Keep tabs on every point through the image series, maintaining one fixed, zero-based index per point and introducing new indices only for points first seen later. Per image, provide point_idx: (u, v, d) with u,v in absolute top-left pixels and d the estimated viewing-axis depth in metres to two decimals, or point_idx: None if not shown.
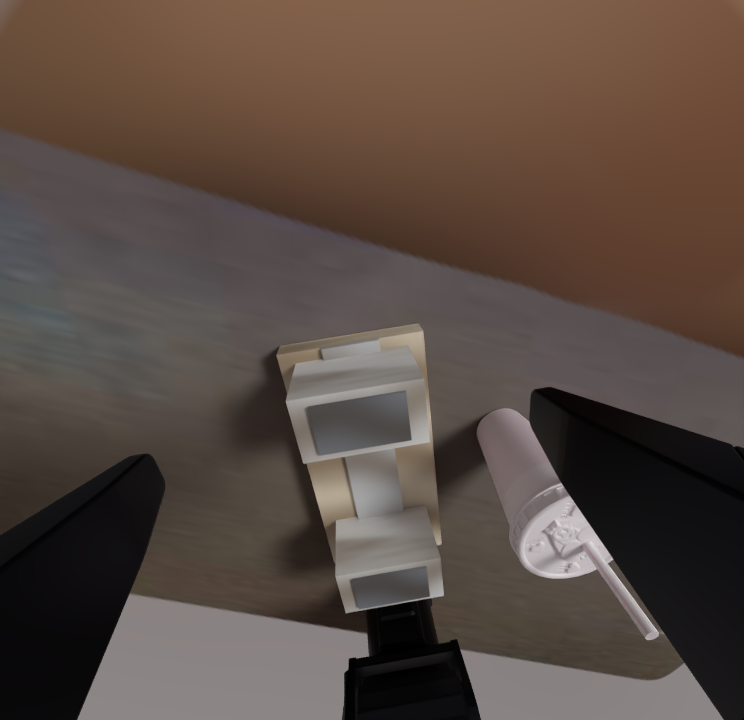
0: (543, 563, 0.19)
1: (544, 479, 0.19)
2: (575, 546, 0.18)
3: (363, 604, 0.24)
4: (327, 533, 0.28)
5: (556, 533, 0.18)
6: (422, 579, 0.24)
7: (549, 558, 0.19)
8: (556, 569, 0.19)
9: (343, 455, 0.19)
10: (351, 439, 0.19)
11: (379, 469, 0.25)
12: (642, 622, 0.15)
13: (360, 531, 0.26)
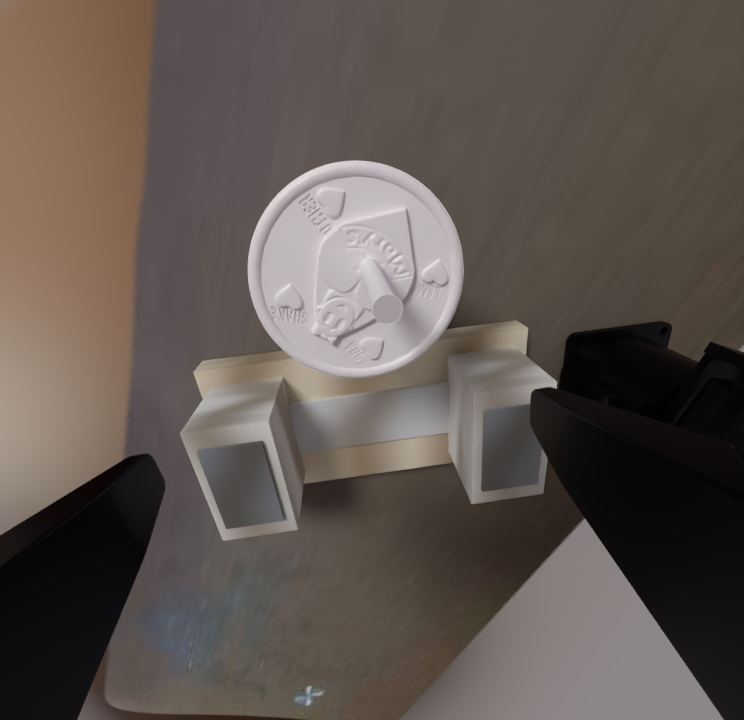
0: (414, 329, 0.11)
1: None
2: None
3: (530, 479, 0.19)
4: None
5: (333, 330, 0.11)
6: (505, 416, 0.17)
7: (403, 321, 0.11)
8: (435, 302, 0.11)
9: (287, 499, 0.18)
10: (262, 496, 0.18)
11: (376, 412, 0.21)
12: None
13: (454, 441, 0.21)
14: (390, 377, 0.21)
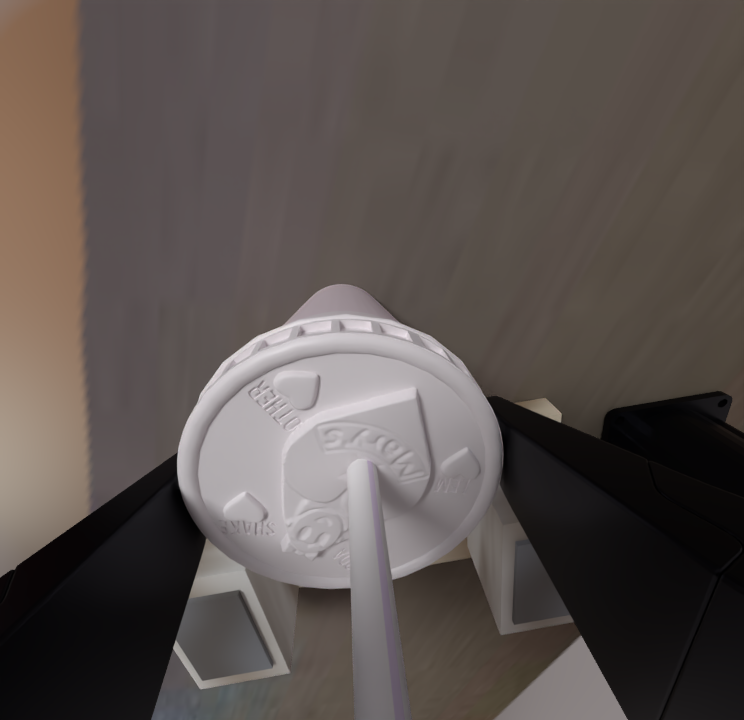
0: (430, 529, 0.08)
1: None
2: None
3: None
4: None
5: (312, 546, 0.07)
6: None
7: (415, 522, 0.08)
8: (461, 497, 0.07)
9: (275, 644, 0.15)
10: (243, 647, 0.14)
11: None
12: None
13: (475, 546, 0.18)
14: None
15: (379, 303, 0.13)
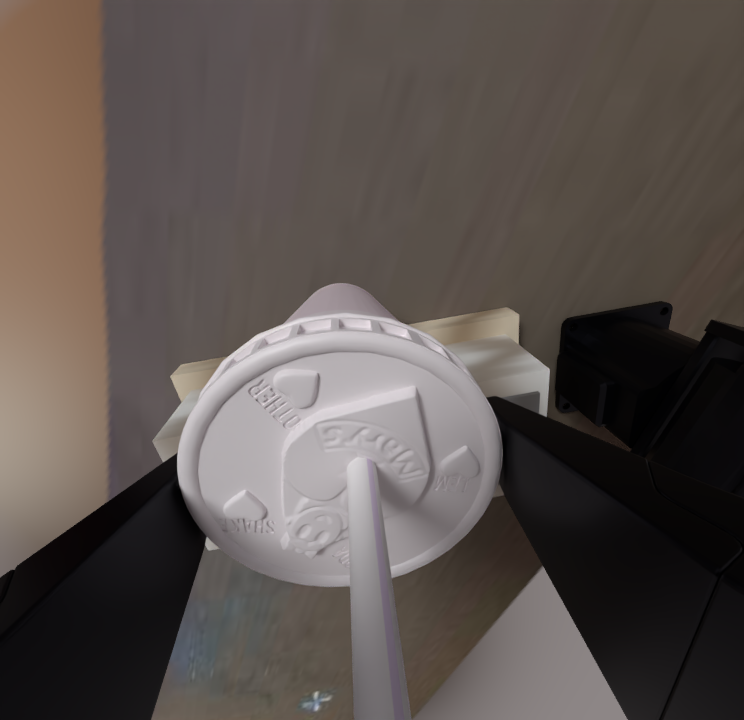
0: (430, 527, 0.08)
1: None
2: None
3: None
4: None
5: (312, 544, 0.07)
6: None
7: (414, 520, 0.08)
8: (460, 496, 0.07)
9: None
10: None
11: None
12: None
13: None
14: None
15: None
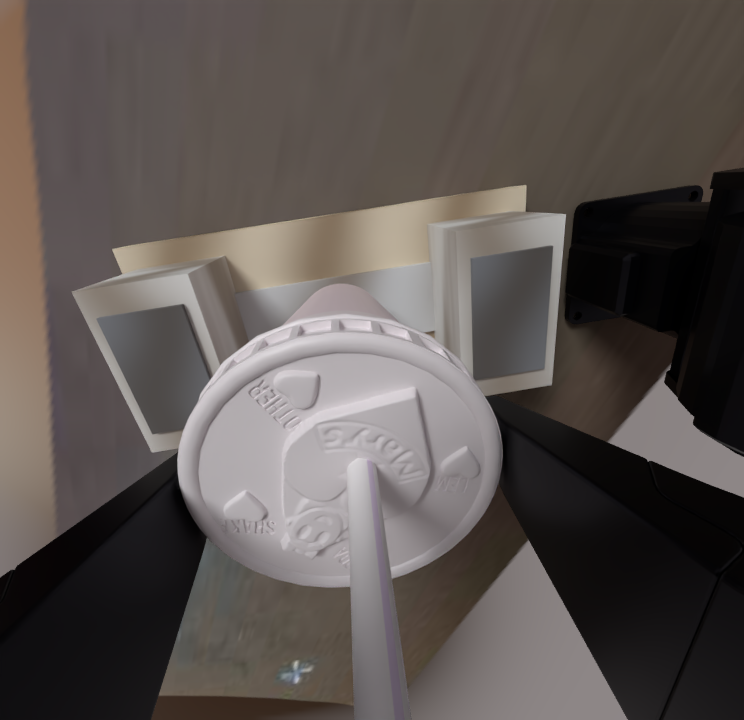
0: (430, 528, 0.08)
1: None
2: None
3: (535, 361, 0.15)
4: None
5: (312, 545, 0.07)
6: (500, 264, 0.13)
7: (414, 520, 0.08)
8: (460, 496, 0.07)
9: None
10: (192, 386, 0.14)
11: None
12: None
13: (440, 336, 0.18)
14: (358, 256, 0.17)
15: None
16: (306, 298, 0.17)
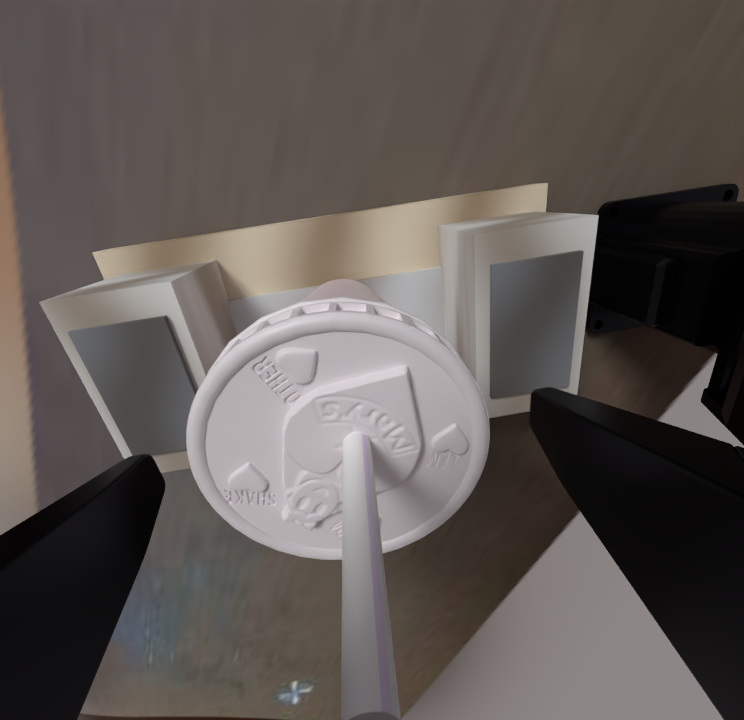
0: (422, 503, 0.08)
1: None
2: None
3: (559, 379, 0.13)
4: None
5: (310, 516, 0.08)
6: (523, 272, 0.12)
7: (407, 495, 0.08)
8: (450, 472, 0.08)
9: None
10: (177, 406, 0.12)
11: None
12: (346, 686, 0.04)
13: None
14: (363, 260, 0.16)
15: None
16: None
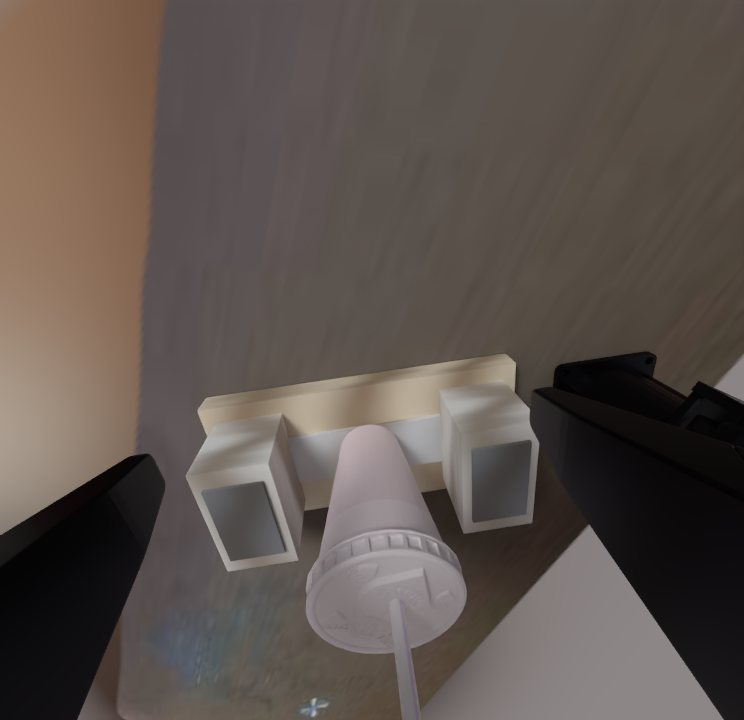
0: (429, 625, 0.15)
1: None
2: None
3: (519, 510, 0.20)
4: None
5: (368, 635, 0.14)
6: (493, 454, 0.18)
7: (421, 621, 0.14)
8: (445, 610, 0.14)
9: (288, 532, 0.19)
10: (264, 531, 0.19)
11: None
12: None
13: (447, 471, 0.22)
14: (384, 411, 0.22)
15: (397, 449, 0.20)
16: None
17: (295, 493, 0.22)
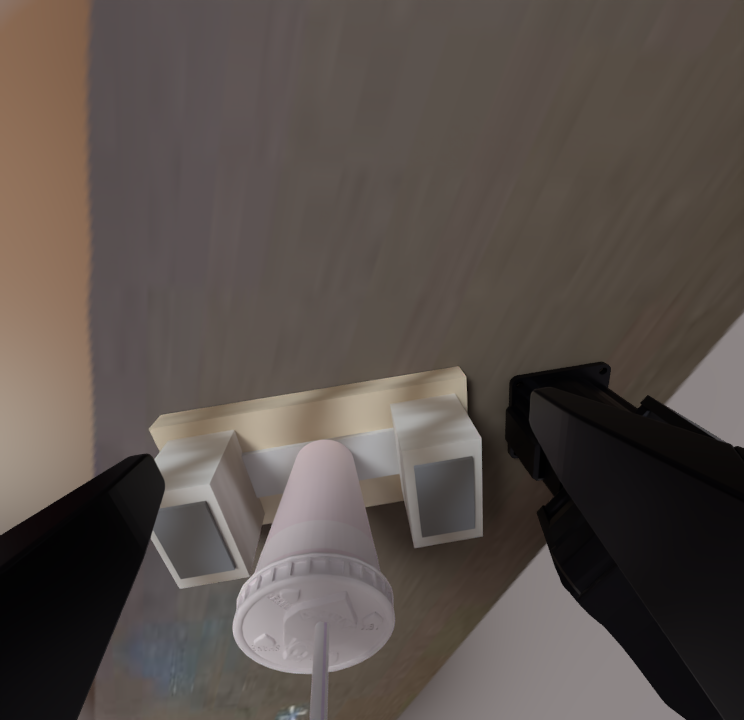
0: (361, 645, 0.15)
1: None
2: None
3: (467, 524, 0.20)
4: None
5: (298, 657, 0.14)
6: (435, 470, 0.18)
7: (352, 642, 0.15)
8: (375, 631, 0.14)
9: (236, 550, 0.19)
10: (211, 549, 0.19)
11: None
12: None
13: (402, 484, 0.22)
14: (337, 426, 0.22)
15: (346, 465, 0.20)
16: None
17: (249, 509, 0.22)
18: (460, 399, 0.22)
